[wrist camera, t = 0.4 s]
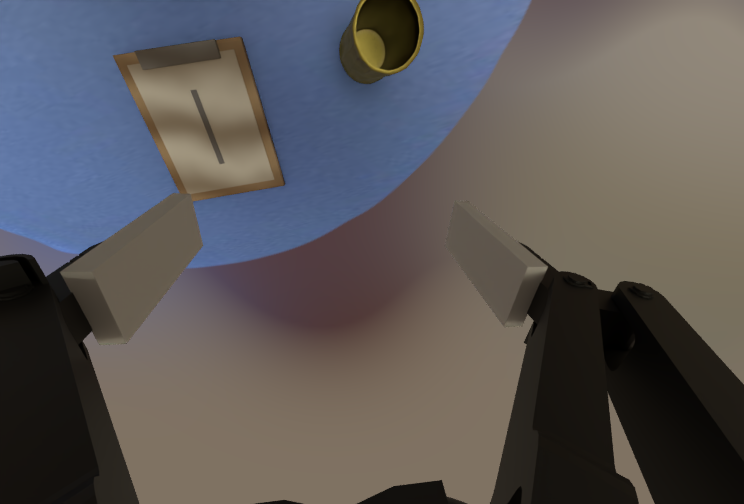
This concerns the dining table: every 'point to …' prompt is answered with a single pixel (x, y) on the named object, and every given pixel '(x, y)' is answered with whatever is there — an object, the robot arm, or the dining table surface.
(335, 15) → the dining table surface
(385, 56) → the vase
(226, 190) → the drawing board
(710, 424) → the robot arm
